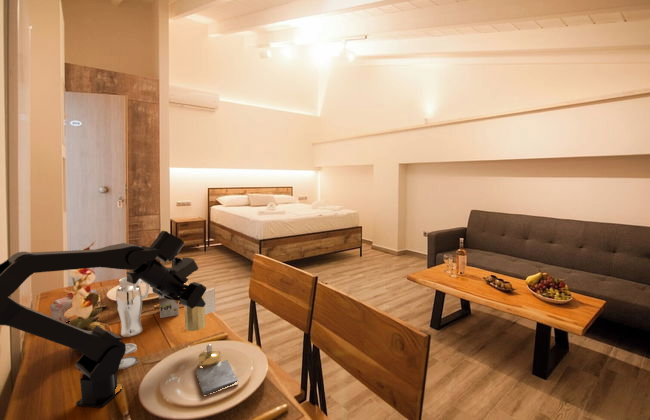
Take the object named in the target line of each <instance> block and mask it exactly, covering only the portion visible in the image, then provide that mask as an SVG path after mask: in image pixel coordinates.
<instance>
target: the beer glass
mask: <svg viewBox="0 0 650 420" xmlns="http://www.w3.org/2000/svg"><path fill="white" fill-rule="evenodd" d="M142 295H143V294H142V289H141V285H140V286H139V285H128V286H123V287H120V286H119V287H118V288H117V289H116V296H115V298H116V308H117V313H118V316H119V318H120V323H121V330H120V337H122V338H123V337H124V338H130V337H134V336H137V335H139V334H140V333H142V332H143V326H142V321H141V318H142V317H141V316H142V307H143V299H142Z"/></svg>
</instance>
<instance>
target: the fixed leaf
mask: <svg viewBox="0 0 650 420" xmlns="http://www.w3.org/2000/svg"><path fill="white" fill-rule="evenodd" d="M212 349H213V345H212V344H211V343H209V344H207V345H206V350H207V352H204V351H202V352H200V353H199V355H198V366H199V365H200V366H202V367H203V368H197V369H195V374H196V373H197V376H198V379H197V381H198V380H199V382H198V384H199V383H200V385H199V387H200V386H201V388H200V390H201V389H202V391H201V394H202V393H203V395H202V397H203V396H204V395H208V394H210V393H213V392H216V391H218V390H220V389H222V388H225V387H227V386H230V385H232V384H234V383H235V382H237V381H238V382H239V380H238V378H237V376H236V374H235V371H234V370H233V368H232V365H231V364H230V362H229V360H228V359H227V360H223V361H222V358H221V357H222V355H221V351H220V350H219V351H212ZM206 350H205V351H206ZM220 361H221V362H220ZM197 376H196V377H197ZM216 393H217V392H216ZM208 396H209V395H208Z"/></svg>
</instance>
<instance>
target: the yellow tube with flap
mask: <svg viewBox="0 0 650 420" xmlns="http://www.w3.org/2000/svg"><path fill="white" fill-rule="evenodd" d="M202 299H203V300H204V302H205V303H206V305H205V306H204V307H194V308H193V309H191V308H189V307H186V306H184V305H183V309H184V327H185V330H186V331H188V332H195V331H199V330H202V329H204V328H205V327H206V315H208V314H211V313H213V312H216V288H214V287H212V288H209V289H206V291H205V293H204V294H203V296H202Z"/></svg>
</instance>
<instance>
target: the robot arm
mask: <svg viewBox="0 0 650 420" xmlns="http://www.w3.org/2000/svg"><path fill="white" fill-rule="evenodd" d="M184 245H185V241H183V240H182V239H181V238H180V237H178V236H175V235H174V234H171V233H169V232H168V231H166V230H161V231H160V232H159V234H158V236H157V237H156V239H154V241H153V242H152V243H151V244H150V246H146V245H141V246H140V245H136V244H133V243H128V242H127V243H126V242H121V243H117V244H111V245H108V246H104V247H100V248H96V249H79V250H77V249H76V250H74V249H73V250H58V251H57V250H56V251H54V250H53V251H37V252H36V251H35V252H34V251H33V252H30V251H19V252H16V253H14V254H12V255H11V256H10V257H9V258H8V259H6V260H4V261H3V262H1V263H0V326H5V327H10V328H13V329H15V330H18V331H21V332H25V333H28V334H30V335H33V336H36V337H38V338H39V337H40V338H41V339H45V340H47V341H49V342H53V343H55V344H58V345H62V346H63V347H67V348H69V349H73V350H75V351H78V352H80V353H81V356H80V357H79V358H78V359H77V361H75V363H74V365H75V368H76V369H77V370H78V371H80V372H81V373H82V377H81V378H79V383H80V393H81V394H80V395H81V398H79V400H78V401H76V402H75V406H78V407H89V408H90V407H91V408H103V407H104V406H105V405H106V404H108V403H109V402H110V401H111V400H112V399H113V398H114V397H115V396H116V395H115V389H116V387H117V386H118V376H117V375H118V372H119V370H120V369H119V365H120V362H121V359H122V358H124V356H125V355H124V354H125V351H126V345H125V344H126V343H125V342H123V341H121V340H123V337H122V336H121V335H118V334H116V333H114V332H113V331H111V330H105V329H104V328H102V327H101V326H99V325H98V324H96V325H95V326H94V328H93V330H86V329H82V328H80V327H77V326H75V325H72V324H70V323H69V322H68V323H65V322H63V321H60V320H58V319H55V318H53V317H51V315H47V314H45V313H43V312H40V311H38V310H35V309H32V308H30V307H27V306H26V305H23V304H21V303H19V302H17V301H16V300H15V299H13V298H12V297H10V296H11V295H12V294H14V293H15V292H16V291H17V290H18V289H19V288H20V287H21V285H22V284H24V282H25V281H26V280H27V279H28V278H30V277H31V276H32V275H33V274H38V273H49V272H60V271H70V270H71V271H72V270H73V271H74V270H84V269H95V268H105V269H115V270H124V271H125V270H129V271H127V272H126V277H127V282H130V283H132V284H136V282H137V281H138V280H139V279H140V280H142V281H144V282H146V283H147V284H149V288H152V293H154V294H156V295H157V296H158V297H159V296H163V295H164V298H167V299H170V300H177V301H179V304H181V305H183V307H184V306H186V307H189V308H191V309H193V308H194V307H204V306H205V305H206V303H205V302H204V300H203V299H202V296H203V294H204V293H205V291H206V290H207V287H206V286H205V285H204V284H202V283H199V282H196V281H193V282H190V283H189V284H188V285H187V284H186V283H187V282H188V281H189V278H188V277H189V276H190V275H192V274H193V273H194V272H196V271H198V270H199V266H198V264H197V262H196V261H195V258H191V257H182V258H180V257H177V255H178V254H179V252H180V251H181V250H182V248H183V247H184ZM167 261H168V262H169V263H171V267H172V268H171V267H166V266H165V265H164V264H163V263H165V264H166V262H167ZM161 262H162V263H161ZM169 268H171V269H169ZM122 360H123V359H122ZM121 386H122V385H121ZM122 388H123V389H124V387H123V386H122Z"/></svg>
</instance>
